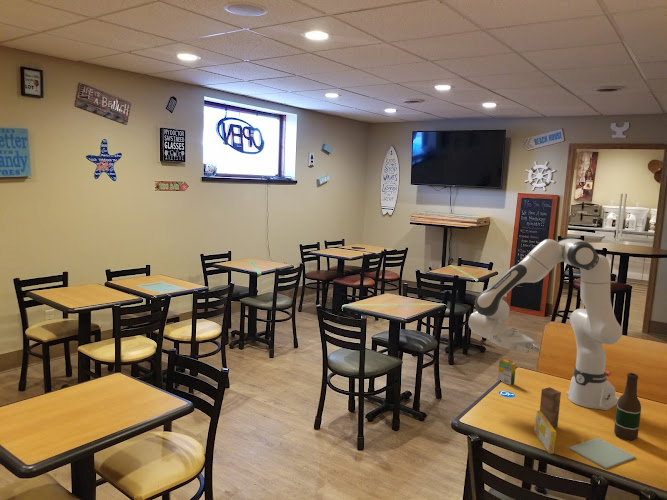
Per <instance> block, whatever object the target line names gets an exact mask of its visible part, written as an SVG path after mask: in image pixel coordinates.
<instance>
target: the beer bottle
mask: <svg viewBox="0 0 667 500" xmlns="http://www.w3.org/2000/svg"><path fill="white" fill-rule="evenodd" d="M638 379H639V375H638V374H637V373H633V372H629V373H627V374H626V382H625V387H624V388H625V389H624V391H623V393H622V394H621V395H620V396H619V397H618V398H619V399H618V402H617V405H616V409H615V410H616V411H615V419H614V429H613V432H614V434H615V436H616V437H617V438H619V439H622V440H623V441H629V442H635V441H636V440H638V437H639V430H640V421H641V414H642V405H641V401H640V399H639V398H638Z"/></svg>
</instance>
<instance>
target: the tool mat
mask: <svg viewBox="0 0 667 500" xmlns="http://www.w3.org/2000/svg"><path fill="white" fill-rule="evenodd" d="M568 450H569V451H571V452H574V454H577V455H579V456H581V457H583V458H585V459H586V460H588V461H590V462H591V463H594V464H595V465H597V466H599V467H600V468H602V469H605V470H608V469H611V468H613V467H616V466H619V465H621V464H623V463H626V462H629V461H631V460H633V459H636V455H633V454H631V453H630V452H628V451H625V450H623V449H621V448H620V447H617V446H615V445H614V444H611V443H610V442H608V441H605V440H603V439H601V438H599V437H595V438H592V439H590V440H585V441H583V442H580V443H576V444H574V445H571V446H568Z"/></svg>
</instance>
